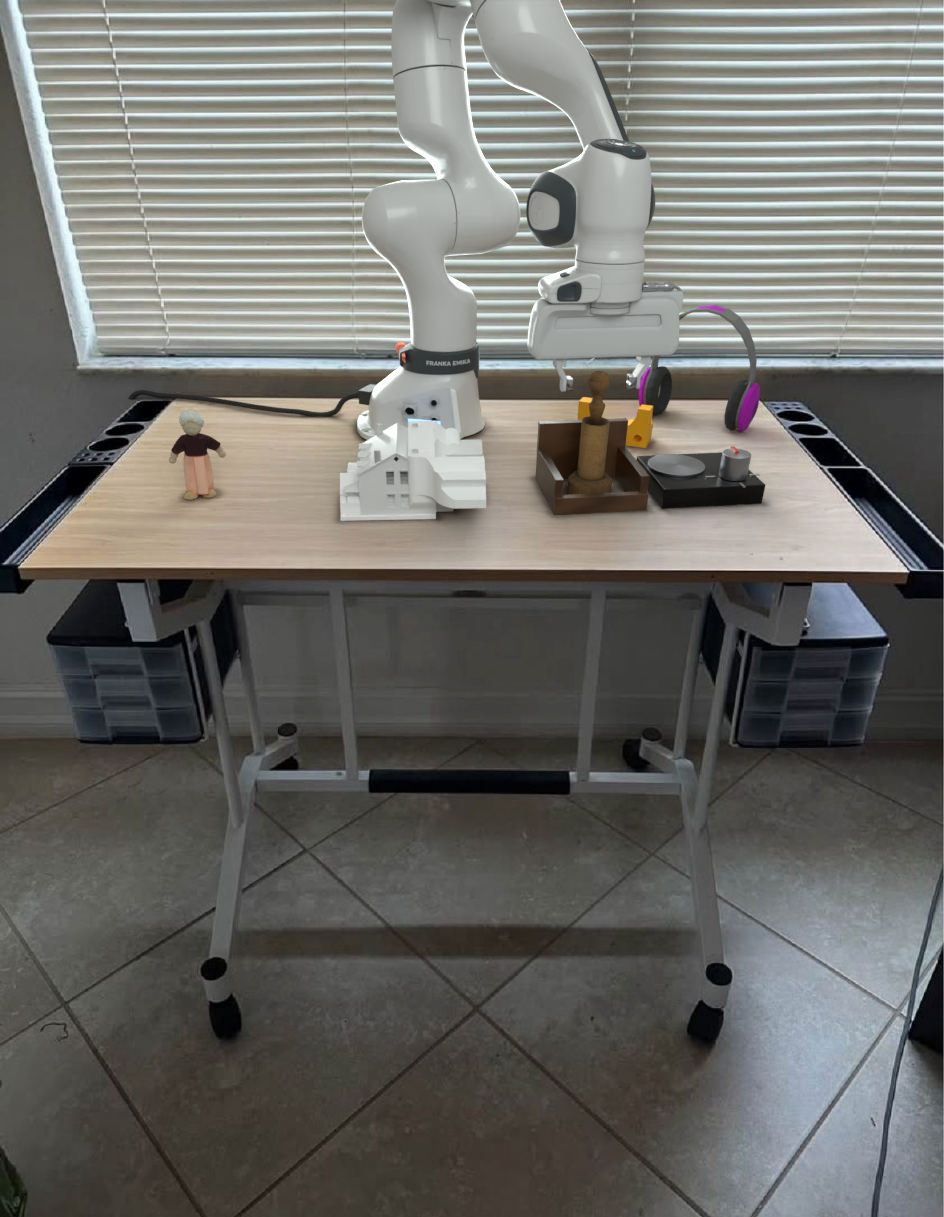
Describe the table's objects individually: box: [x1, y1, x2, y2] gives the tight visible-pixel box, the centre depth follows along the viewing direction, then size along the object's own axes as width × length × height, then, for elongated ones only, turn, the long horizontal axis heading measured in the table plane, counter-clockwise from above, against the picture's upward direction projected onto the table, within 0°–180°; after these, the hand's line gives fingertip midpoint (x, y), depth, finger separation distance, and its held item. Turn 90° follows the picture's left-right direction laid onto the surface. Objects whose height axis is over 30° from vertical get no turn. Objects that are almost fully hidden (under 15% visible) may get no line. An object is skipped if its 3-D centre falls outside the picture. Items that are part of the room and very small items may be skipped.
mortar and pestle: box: [566, 370, 613, 495], centre depth 120 cm, size 7×6×18 cm
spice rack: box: [535, 417, 650, 516], centre depth 122 cm, size 13×13×9 cm
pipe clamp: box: [577, 396, 654, 449], centre depth 143 cm, size 12×4×6 cm, turn 68°
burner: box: [648, 453, 705, 478], centre depth 126 cm, size 8×8×1 cm
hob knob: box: [719, 445, 752, 481], centre depth 122 cm, size 4×4×4 cm
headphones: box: [638, 304, 761, 433], centre depth 147 cm, size 21×9×20 cm, turn 58°
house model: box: [339, 420, 487, 522], centre depth 117 cm, size 19×20×10 cm
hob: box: [636, 451, 766, 510], centre depth 125 cm, size 16×14×3 cm
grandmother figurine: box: [168, 409, 227, 501], centre depth 120 cm, size 8×4×13 cm, turn 117°
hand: (599, 389), depth 116 cm, fingers open, 8 cm apart
